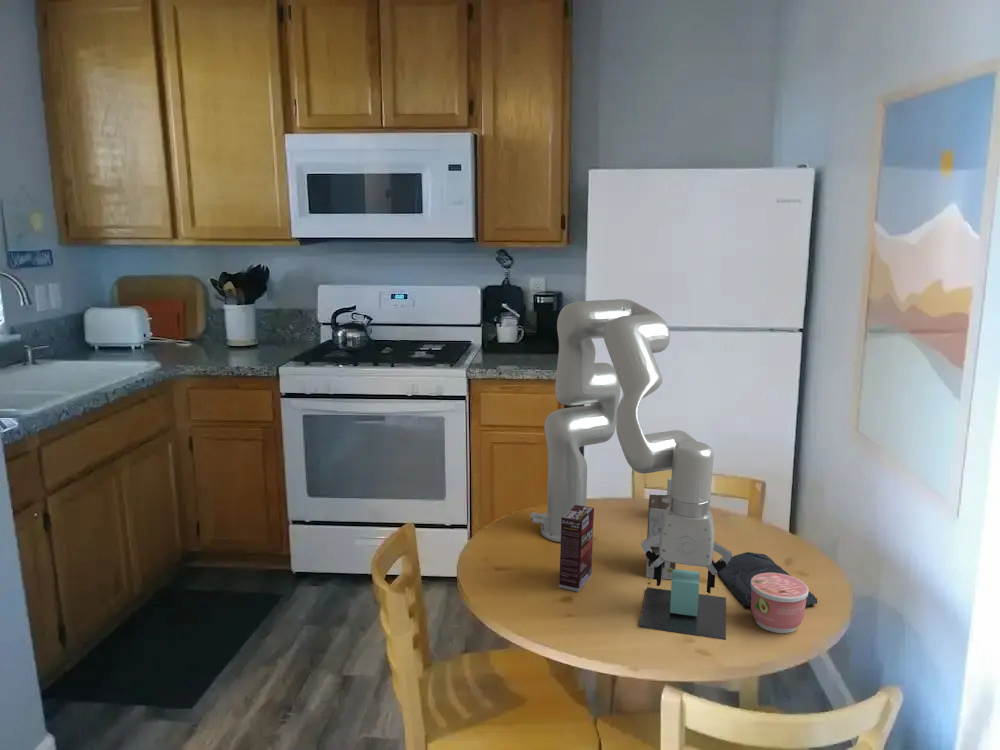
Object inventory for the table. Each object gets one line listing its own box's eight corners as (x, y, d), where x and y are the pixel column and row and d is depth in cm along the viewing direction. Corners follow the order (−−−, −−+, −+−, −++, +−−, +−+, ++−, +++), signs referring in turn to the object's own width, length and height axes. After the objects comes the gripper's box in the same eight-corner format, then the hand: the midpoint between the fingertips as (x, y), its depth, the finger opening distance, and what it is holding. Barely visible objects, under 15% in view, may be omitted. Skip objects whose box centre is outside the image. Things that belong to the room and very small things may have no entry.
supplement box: (579, 593, 164) (581, 521, 161) (558, 588, 166) (559, 517, 163) (593, 575, 172) (595, 507, 168) (572, 571, 174) (573, 503, 170)
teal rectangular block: (669, 612, 154) (671, 580, 153) (671, 600, 159) (673, 569, 157) (697, 616, 153) (699, 584, 151) (697, 603, 158) (699, 572, 156)
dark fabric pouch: (772, 562, 179) (774, 542, 178) (822, 609, 157) (825, 587, 156) (708, 564, 177) (709, 545, 176) (749, 613, 155) (751, 590, 154)
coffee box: (675, 580, 170) (679, 510, 166) (645, 577, 171) (648, 507, 167) (675, 562, 178) (678, 495, 175) (646, 559, 180) (649, 492, 176)
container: (741, 608, 158) (744, 571, 156) (794, 609, 157) (797, 572, 156) (756, 636, 147) (759, 597, 146) (813, 637, 147) (816, 598, 145)
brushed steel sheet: (639, 627, 151) (640, 593, 149) (647, 589, 166) (648, 558, 164) (725, 639, 146) (728, 604, 145) (725, 599, 161) (728, 567, 160)
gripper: (642, 507, 150) (637, 589, 154) (736, 518, 146) (728, 602, 150) (645, 493, 157) (641, 571, 161) (735, 503, 153) (728, 584, 157)
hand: (683, 586), depth 155 cm, fingers open, 9 cm apart
